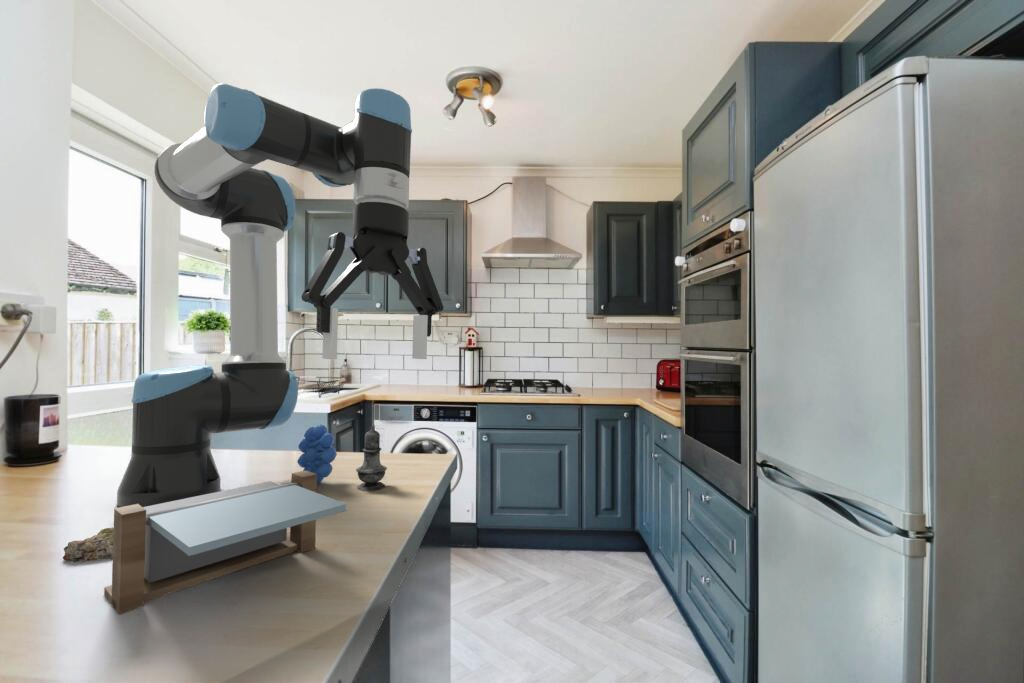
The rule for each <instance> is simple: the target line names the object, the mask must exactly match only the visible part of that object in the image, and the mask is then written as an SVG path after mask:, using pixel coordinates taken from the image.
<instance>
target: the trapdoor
mask: <svg viewBox="0 0 1024 683" xmlns="http://www.w3.org/2000/svg"><path fill="white" fill-rule="evenodd" d="M143 508H144V509H146V535H145V569H144V578H145V579H146V580H147V581H148V582H149V583H151V582H154V581H157V580H161V579H164V578H167V577H170V576H173V575H177V574H180V573H183V572H186V571H190V570H193V569H196V568H199V567H202V566H206V565H209V564H212V563H215V562H219V561H222V560H225V559H228V558H232V557H235V556H238V555H241V554H244V553H248V552H251V551H254V550H257V549H261V548H264V547H267V546H270V545H273V544H277V543H280V542H283V541H286V538H287V533H288V531H287V530H288V528H290V527H292V526H295V525H298V524H302V523H305V522H309V521H312V520H316V521H317V520H319V519H322V518H326V517H329V516H332V515H336V514H340V513H344V512H346V511H347V503H345V502H341V501H339V500H338V499H337V500H336V499H334V498H331V497H329V496H326V495H323V494H321V493H316V492H313V491H310V490H308V489H305V488H302V487H300V486H297V485H295V484H294V483H291V482H289V483H283V484H278V483H275V481H274V482H273V481H271V480H270V481H269V480H268V481H264V482H260V483H255V484H249V485H246V486H240V487H235V488H231V489H224V490H220V491H219V492H215V493H210V494H205V495H200V496H195V497H190V498H185V499H181V500H176V501H171V502H166V503H161V504H156V505H151V506H146V507H143Z"/></svg>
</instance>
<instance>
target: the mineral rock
mask: <svg viewBox="0 0 1024 683" xmlns="http://www.w3.org/2000/svg"><path fill="white" fill-rule="evenodd" d="M113 534H114V527H106V528H103V529H100V531H99V532H98V533H97V534H94V535H93V536H91V537H87V538H85V539H83V540H72V541H70V542H68V543H67V545H65V547H64V548H63V551H64V555H63V556H62V559H63V560H64V561H65V562H68V561H72V562H73V563H83V562H89V561H90V562H92V561H97V560H103V559H113Z"/></svg>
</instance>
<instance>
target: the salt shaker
mask: <svg viewBox="0 0 1024 683" xmlns="http://www.w3.org/2000/svg"><path fill="white" fill-rule="evenodd" d="M380 436H381V435H380V432H378V430H375V427H374V425H372V426H371V427H370V430H369V431H367V432H366V433H365V434H364V448H362V451H363V461H362V462H363V463H362V465H361V466H359V467H357V468H356V469H355V471H356V472H357V477H358V478H359V480H360V481H361V482H362V483H360V484H359V485H358V486H356V488H357V489H358V490H359V491H363V492H374V491H379V490H381V489H384V488H385V487H386V484H384V482H381V481H382V479H383V478H384V477H385V475H386V470H387V469H388V468H387V466H385V465H382V464H381V463H382V462H381V458H380V456H381V455H380V454H381V451H382V448H381V447H380V445H381V444H380V443H381V442H380V441H381V437H380Z"/></svg>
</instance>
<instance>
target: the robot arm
mask: <svg viewBox="0 0 1024 683" xmlns="http://www.w3.org/2000/svg"><path fill="white" fill-rule="evenodd" d="M354 113H355V114H354V115H355V118H354V119H353V120H352V121H350V122H348V123H346V124H344V125H343V126H337V125H335V124H332V123H330V122H328V121H325V120H322V119H321V118H317V117H315V116H312V115H309V114H307V113H304V112H302V111H299V110H297V109H294V108H291V107H290V106H287V105H285V104H284V105H283V104H281V103H280V102H277V101H274V100H272V99H269V98H267V97H264V96H261V95H259V94H258V93H255V92H254V91H251V90H248V89H246V88H244V89H243V88H240V87H238V86H234V85H230V84H228V83H217V84H216V85H213V87H212V89H211V90H210V94H209V96H208V97H207V100H206V103H205V109H204V119H203V120H204V127H202V128H201V129H200V130H198V132H196V133H195V134H194V135H192V137H190V138H189V139H188V140H187V141H185V142H184V143H182V142H181V143H175V144H172V145H170V146H168V147H166V148H165V149H164V150H163V151H162V152H160V153H159V155H158V156H157V157H156V160H155V163H154V177H155V179H156V182H157V184H158V186H159V188H160V189H161V190H162V192H163V193H164V195H166V196H167V197H168V198H169V199H170V200H171V202H174V203H175V204H177V205H178V206H179V207H181V208H182V209H185V210H186V211H188V212H190V213H193V214H196V215H199V216H203V217H207V218H212V219H215V220H216V219H217V220H220V228H221V229H220V230H221V233H223V234H224V235H225V236H226V237H228V238H229V297H230V298H229V303H230V304H229V306H230V308H229V309H230V313H229V315H230V318H229V321H230V322H229V323H230V324H229V325H230V326H229V327H230V330H229V331H230V333H229V335H230V340H229V342H230V343H229V345H230V347H229V348H230V354H229V356H227V358H226V359H224V361H222V362H221V372H214V369H213V367H212V365H208V364H207V365H206V364H205V365H192V366H180V367H172V368H171V367H170V368H166V369H165V368H163V369H158V370H152V371H147V372H144V373H142V374H140V375H138V376H137V378H135V380H134V386H133V392H132V398H131V403H132V427H131V429H132V432H131V455H130V456H131V457H130V460H129V463H128V465H127V467H126V469H125V472H124V474H123V477H122V479H121V481H120V483H119V486H118V489H117V493H116V505H117V506H118V507H124V506H129V505H134V504H139V505H140V506H142V507H146V506H151V505H156V504H161V503H166V502H171V501H176V500H181V499H185V498H190V497H195V496H200V495H205V494H210V493H215V492H220V491H221V476H220V473H219V470H218V467H217V464H216V462H215V458H214V457H213V453H212V450H211V441H212V440H211V437H212V435H213V434H219V433H230V432H240V431H248V430H249V431H250V430H265V429H267V428H273V427H280V426H281V425H284V424H286V423H287V422H288V421H289V420H290V418H291V416H292V415H293V414H294V411H295V409H296V407H297V402H298V396H299V384H298V380H297V376H296V374H295V373H294V372H292V371H290V370H289V369H287V361H286V360H285V359H283V358H282V357H281V356H280V355H279V349H278V348H279V345H278V344H279V341H278V340H279V338H278V336H279V334H278V330H279V328H278V263H277V262H278V259H277V256H278V254H277V245H278V242H279V241H281V240H282V239H283V238H284V237H285V232H287V231H289V230H290V229H291V228H292V226H293V224H294V221H295V219H294V218H295V217H294V216H296V200H295V195H294V192H293V189H292V187H291V185H290V183H289V182H288V181H287V180H286V179H285V178H284V177H282V176H281V175H276V174H274V173H271V172H269V171H267V170H264V169H258V168H253V167H255V166H257V165H259V164H261V163H263V162H265V161H267V160H268V161H272V162H276V163H279V164H282V165H286V166H289V167H293V168H295V169H300V170H303V171H306V172H309V173H311V174H313V176H314V177H315V178H316V179H317V180H318V181H319V182H321V183H322V184H323V185H325V186H328V187H332V188H340V187H341V188H342V187H346V186H351V185H352V184H353V198H352V200H353V202H354V203H355V205H354V207H353V208H352V209H353V210H352V232H353V235H352V237H349V236H346V234H345V233H344V232H342V231H340V232H336V233H332V234H331V235H329V237H328V241H327V242H328V243H327V249H326V251H325V254H324V255H323V257H322V259H321V261H320V262H319V264H318V266H317V268H316V269H315V271H314V272H313V275H312V277H311V278H310V279H309V282H308V283H307V285H306V287H305V289H304V290H303V293H302V294H301V300H302V301H303V302H305V303H309V304H311V305H313V307H314V308H315V309H316V326H315V327H316V328H315V329H316V331H317V333H319V334H320V333H322V356H321V357H322V359H323V360H326V359H327V360H338V358H337V357H338V329H339V328H338V326H339V324H338V323H339V308H336V307H333V308H332V306H333V305H334V304H335V302H337V300H338V299H339V298H340V297H341V296H342V295H343V294H344V293H345V291H347V289H349V287H350V286H351V285H352V284H353V283H354V282H355V281H356V280H357V279H358V278H359V276H360V275H362V273H364V272H365V273H366V274H378V275H380V276H391V277H392V279H394V281H396V282H397V284H398V285H399V286H400V288H401V289H402V291H403V293H405V296H406V297H407V299H408V300H409V302H410V303H411V304H412V306H413V307H414V309H415V310H416V312H417V313H418V315H412V316H413V320H412V323H413V324H412V357H411V358H412V359H416V360H427V354H428V353H427V352H428V338H429V337H431V335H432V321H433V320H432V318H433V316H435V315H436V314H437V313H439V312H443V311H444V308H445V307H444V304H443V302H442V299H441V296H440V293H439V291H438V288H437V286H436V283H435V280H434V278H433V275H432V272H431V270H430V267H429V263H428V254H427V252H428V251H427V249H426V248H424V247H420V248H409V246H408V242H407V240H408V236H409V221H410V220H409V219H410V218H409V215H410V213H409V211H408V210H407V209H408V208H409V205H410V172H411V171H410V170H411V152H412V151H411V148H412V146H411V145H412V133H413V129H412V122H411V120H412V119H411V107H410V104H409V102H408V101H407V99H406V98H404V97H403V96H402V95H400V94H397V93H396V92H394V91H392V90H388V89H384V88H368V89H364V90H362V91H361V92H359V94H358V95H357V98H356V102H355V108H354ZM349 248H350V250H351V253H352V255H354V257H355V258H354V259H353V260H352V261H351V262H350V263H349V265H348V266H347V267H346V269H345V270H344V271H343V272H342V273H341V274H340V275H339V276H338V277H337V279H335V281H333V283H332V284H330V285H329V287H328V288H327V289H326V290H325V291H324V292H323V290H324V288H325V287H326V285H327V283H328V282H329V279H330V277H331V276H332V274H333V272H334V270H335V269H336V267H337V264H339V262H340V259H341V258H342V256H343V253H344V252H346V251H348V250H349ZM407 259H408V263H411V267H412V270H413V273H414V277H415V279H416V280H415V279H414V277H413V275H412V271H411V269H410V268H409V266H408V264H407V263H406V260H407ZM416 281H417V282H416Z"/></svg>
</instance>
